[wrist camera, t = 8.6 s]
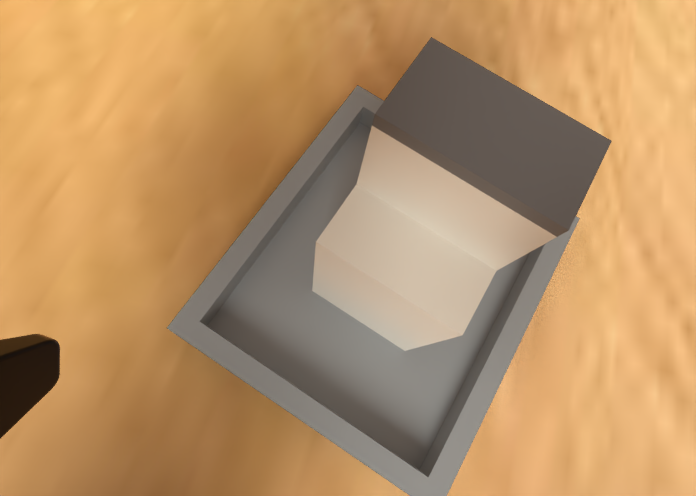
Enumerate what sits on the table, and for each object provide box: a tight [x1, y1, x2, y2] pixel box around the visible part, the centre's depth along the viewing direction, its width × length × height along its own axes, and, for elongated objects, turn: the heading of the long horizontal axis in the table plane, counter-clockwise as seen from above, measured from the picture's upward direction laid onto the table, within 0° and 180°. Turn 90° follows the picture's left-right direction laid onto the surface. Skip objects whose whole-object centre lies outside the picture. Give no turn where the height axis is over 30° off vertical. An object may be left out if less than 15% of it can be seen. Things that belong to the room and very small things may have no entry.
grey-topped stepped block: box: [312, 37, 611, 351], centre depth 16 cm, size 6×6×12 cm
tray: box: [167, 85, 579, 496], centre depth 21 cm, size 16×14×2 cm
